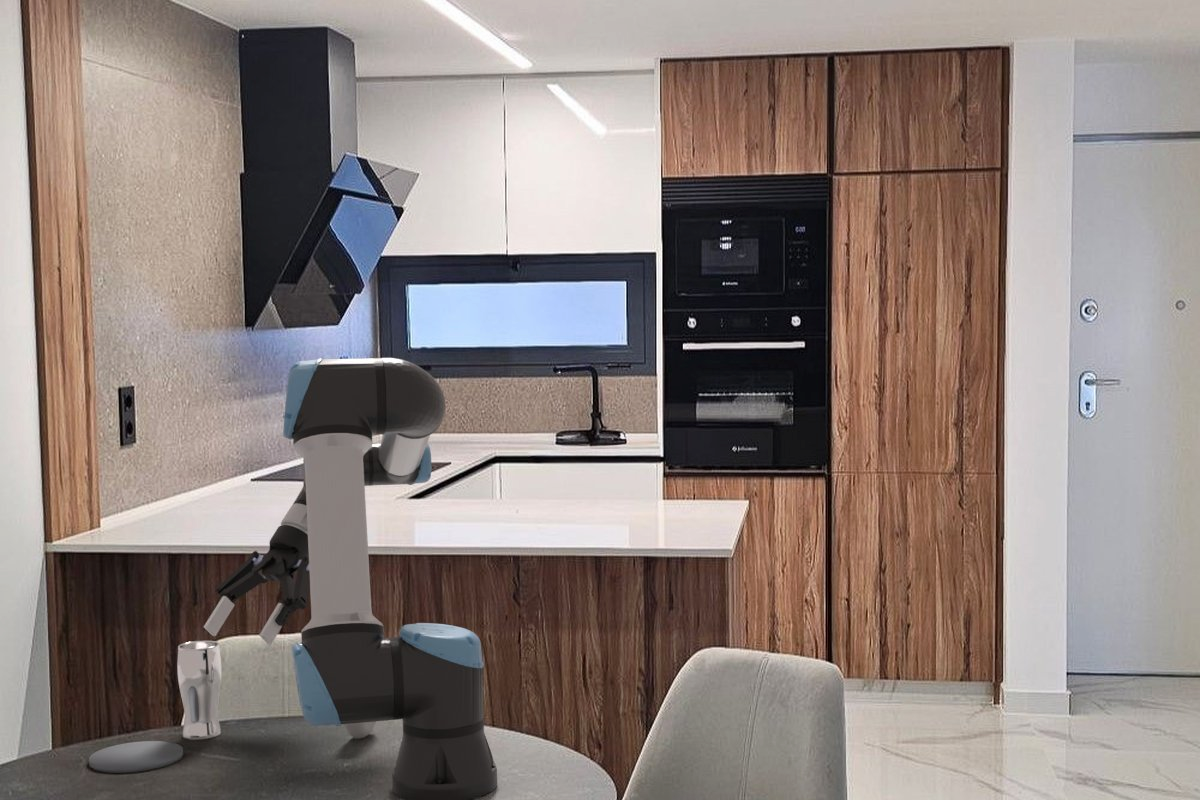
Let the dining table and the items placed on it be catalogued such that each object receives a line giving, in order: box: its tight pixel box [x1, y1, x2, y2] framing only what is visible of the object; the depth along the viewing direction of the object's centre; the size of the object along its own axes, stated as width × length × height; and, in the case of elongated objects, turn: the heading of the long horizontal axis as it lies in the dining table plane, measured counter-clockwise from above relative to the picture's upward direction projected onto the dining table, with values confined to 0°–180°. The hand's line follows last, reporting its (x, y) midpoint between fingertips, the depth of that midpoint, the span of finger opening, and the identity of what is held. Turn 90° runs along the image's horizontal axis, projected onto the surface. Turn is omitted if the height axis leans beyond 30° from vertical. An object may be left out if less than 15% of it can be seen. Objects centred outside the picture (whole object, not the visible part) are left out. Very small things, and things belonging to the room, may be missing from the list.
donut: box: [344, 721, 377, 739], centre depth 237 cm, size 10×4×10 cm, turn 168°
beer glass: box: [177, 640, 222, 741], centre depth 241 cm, size 7×7×15 cm
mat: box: [88, 740, 184, 774], centre depth 228 cm, size 14×14×1 cm
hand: (236, 635), depth 248 cm, fingers open, 13 cm apart
